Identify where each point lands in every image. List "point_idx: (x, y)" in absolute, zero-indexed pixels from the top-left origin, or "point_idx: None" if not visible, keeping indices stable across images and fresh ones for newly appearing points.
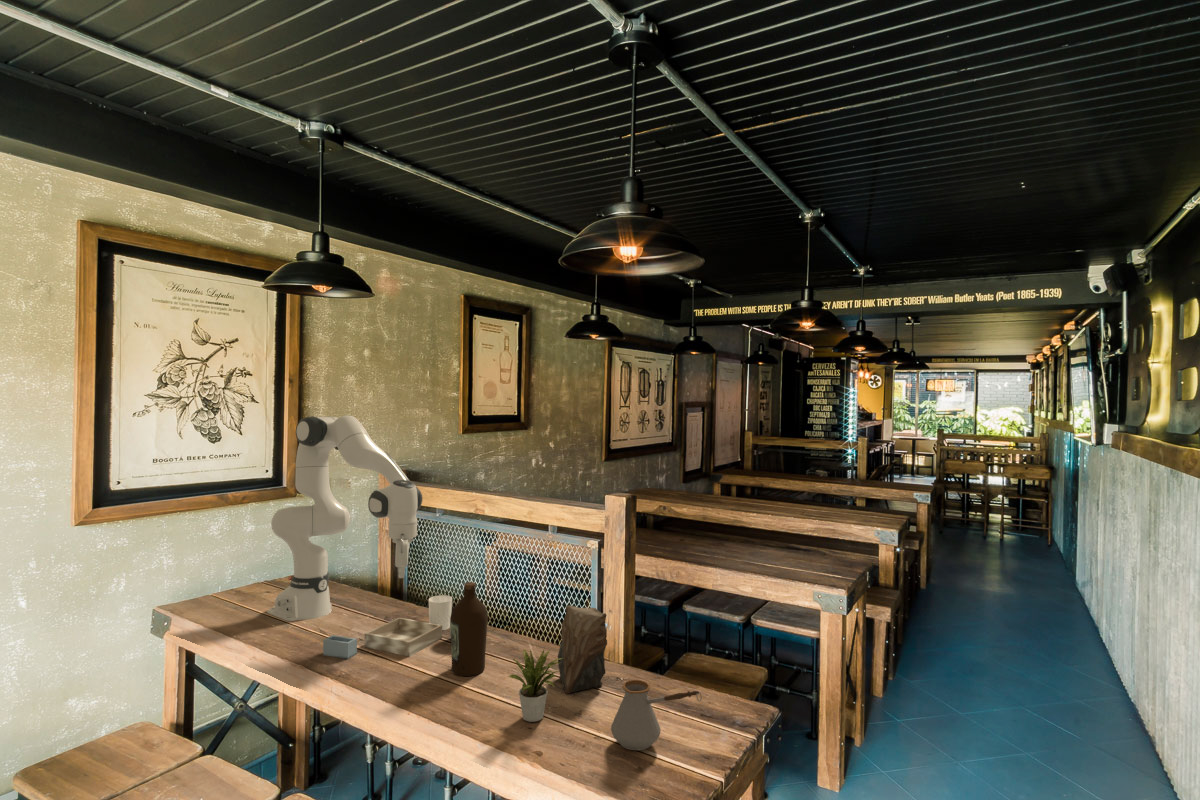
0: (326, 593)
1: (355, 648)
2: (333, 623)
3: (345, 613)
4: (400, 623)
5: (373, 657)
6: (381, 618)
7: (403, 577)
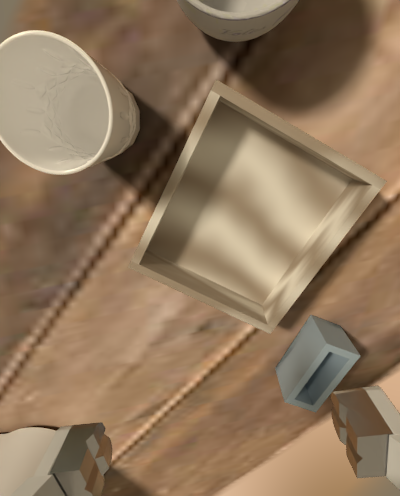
0: (10, 489)
1: (322, 328)
2: (95, 405)
3: (24, 398)
4: (144, 253)
5: (335, 273)
6: (44, 315)
7: (378, 389)
